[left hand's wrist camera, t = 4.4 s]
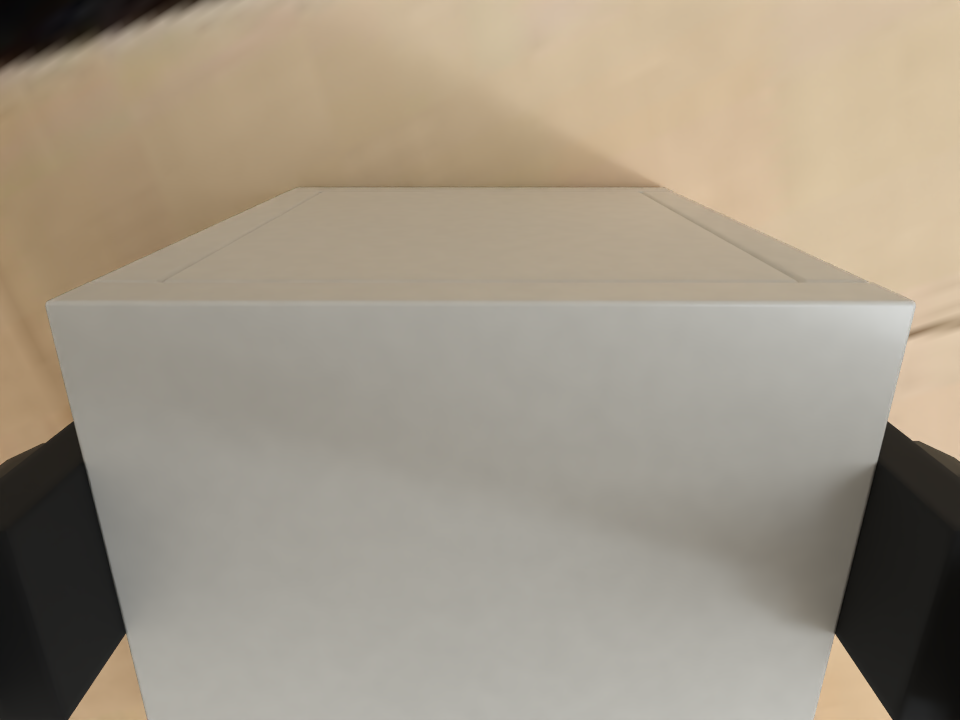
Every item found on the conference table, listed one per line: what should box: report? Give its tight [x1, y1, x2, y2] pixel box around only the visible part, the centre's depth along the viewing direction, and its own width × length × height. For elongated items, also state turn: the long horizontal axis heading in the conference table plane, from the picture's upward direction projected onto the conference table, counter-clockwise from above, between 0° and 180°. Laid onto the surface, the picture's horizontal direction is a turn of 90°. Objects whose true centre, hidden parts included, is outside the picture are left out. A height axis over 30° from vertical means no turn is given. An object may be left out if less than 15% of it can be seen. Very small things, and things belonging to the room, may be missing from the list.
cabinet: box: [45, 187, 916, 720], centre depth 16 cm, size 19×10×11 cm, turn 0°
